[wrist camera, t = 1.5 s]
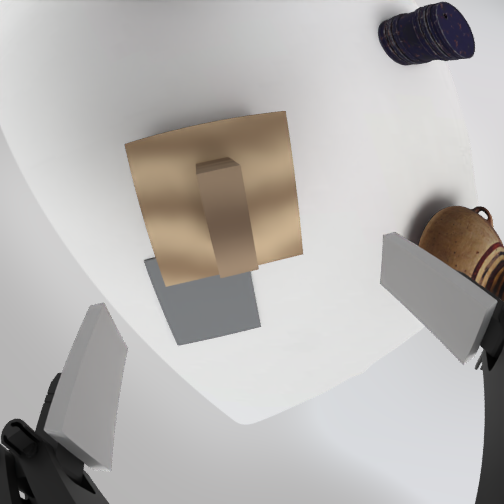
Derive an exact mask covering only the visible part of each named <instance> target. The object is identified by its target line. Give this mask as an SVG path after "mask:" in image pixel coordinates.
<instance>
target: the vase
mask: <svg viewBox="0 0 504 504" xmlns="http://www.w3.org/2000/svg"><path fill="white" fill-rule="evenodd" d="M480 211H484V212H485V213H486V214H487V216H488V219H487V220H486V219H484V218H483V217H482V216H480V215H479V214H478V213H479V212H480ZM419 247H420V248H422V249H424V250H425V251H427V252H428V253H430V254H431V255H433V256H434V257H436V258H438V259H439V260H441V261H442V262H444V263H445V264H447V265H448V266H450V267H451V268H453V269H455V270H457V271H460V272H463V273H465V274H466V275H468V276H469V277H470V278H472V280H475V281H476V282H477V283H479V285H482V286H483V287H484V288H486V289H487V290H488V291H490V292H491V293H493V294H494V295H495V296H496V297H498V298H499V299H501V300H502V301H503V302H504V246H503V244H502V241H501V240H500V238H499V236H498V234H497V233H496V231H495V230H494V228H493V220H492V216H491V215H490V213H489V211H488V210H487V209H486V208H484V207H475V208H474V209H468V208H466V207H462V206H451V207H447V208H444V209H442V210H441V211H439V212H438V213H436V214H435V215H434V216H433V217H432V218H431V220H430V221H429V222H428V224H427V225H426V227H425V229H424V231H423V233H422V236H421V239H420V242H419Z"/></svg>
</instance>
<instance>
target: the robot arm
mask: <svg viewBox="0 0 504 504" xmlns="http://www.w3.org/2000/svg"><path fill="white" fill-rule="evenodd" d="M380 284H381V285H382V286H383V287H384V288H385V289H387V290H388V291H389V292H390V293H391V294H392V295H393V296H394V297H395V298H396V299H397V300H398V301H400V302H401V303H402V304H403V305H404V306H405V307H406V308H407V309H408V310H409V311H410V312H411V313H412V314H413V315H414V316H415V317H416V318H417V319H418V320H419V321H420V322H422V323H423V324H424V325H425V326H426V327H427V328H428V329H429V330H430V331H431V332H432V333H433V334H434V335H435V336H436V337H437V338H438V339H439V340H440V341H441V342H442V343H443V344H444V345H445V346H446V347H447V349H449V351H450V352H451V353H452V354H453V355H454V356H455V357H456V358H457V359H458V360H459V361H460V362H461V363H462V364H463V365H464V364H465V363H467V362H468V361H469V360H471V359H472V358H473V357H475V355H476V352H477V350H478V348H479V346H481V347H482V348H483V349H484V350H483V352H482V354H481V356H480V358H479V360H478V362H477V364H476V366H475V369H476V370H477V369H478V367H479V365H480V363H481V362H482V366H481V368H480V369H481V370H483V377H484V393H485V394H484V396H485V429H484V447H483V458H482V467H481V474H480V481H479V487H478V492H477V497H476V502H475V504H504V302H503V301H502V300H500V299H499V298H498V297H496V296H495V295H494V294H493V293H491V292H490V291H488V290H487V289H486V288H484V287H483V286H482V285H479V283H477V282H476V281H475V280H472V278H470V277H469V276H468V275H466V274H465V273H463V272H460V271H457V270H455V269H453V268H451V267H450V266H448V265H447V264H445V263H444V262H442V261H441V260H439V259H438V258H436V257H434V256H433V255H431V254H430V253H428V252H427V251H425V250H424V249H422V248H420V247H419V246H417V245H416V244H414V243H412V242H411V241H409V240H407V239H406V238H404V237H402V236H401V235H399V234H397V233H396V232H393V233H390V234H386V235H383V249H382V266H381V279H380ZM127 351H128V348H127V345H126V344H125V342H124V340H123V338H122V337H121V335H120V333H119V331H118V329H117V327H116V325H115V323H114V321H113V319H112V317H111V315H110V313H109V312H108V309H107V307H106V305H105V303H100V304H95V305H91V306H90V307H89V309H88V311H87V314H86V316H85V318H84V320H83V323H82V325H81V327H80V329H79V331H78V334H77V336H76V338H75V341H74V343H73V346H72V348H71V350H70V353H69V355H68V358H67V361H66V363H65V366H64V369H63V371H62V373H58V374H57V375H56V377H55V378H54V379H53V381H52V382H51V384H50V387H49V390H48V395H46V398H45V403H44V404H43V407H42V410H41V414H40V417H39V420H38V424H37V427H36V431H35V432H34V430H32V429H31V428H30V427H29V426H28V425H27V424H26V423H25V422H24V421H22V420H21V419H13V420H11V421H9V422H8V423H7V424H6V426H5V427H4V429H3V431H2V435H1V443H2V444H3V445H5V446H6V447H7V448H8V449H9V450H7V449H6V448H5V447H3V446H2V445H1V444H0V504H109V503H108V501H107V500H106V499H105V497H104V496H103V495H102V493H101V492H100V491H99V490H98V488H97V487H96V485H95V484H94V483H93V481H92V479H91V478H90V476H89V475H88V474H87V473H86V472H85V471H84V470H83V469H84V463H85V464H86V465H87V466H89V467H90V468H92V469H93V470H100V471H111V467H112V454H113V443H114V433H115V424H116V415H117V409H118V402H119V395H120V389H121V383H122V377H123V372H124V366H125V361H126V355H127ZM19 491H21V492H23V493H24V494H25V499H23V498H21V497H20V494H19Z"/></svg>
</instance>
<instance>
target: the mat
mask: <svg viewBox="0 0 504 504" xmlns="http://www.w3.org/2000/svg"><path fill="white" fill-rule="evenodd" d="M144 263H145V266H146V268H147V271H148V274H149V277H150V279H151V282H152V285H153V287H154V290H155V292H156V295H157V297H158V300H159V302H160V305H161V307H162V310H163V312H164V315H165V317H166V320H167V322H168V324H169V327H170V329H171V331H172V333H173V336H174V338H175V340H176V342H177V345H183V344H188V343H193V342H198V341H203V340H207V339H212V338H216V337H221V336H225V335H229V334H233V333H238V332H242V331H246V330H250V329H254V328H258V327H261V325H260V319H259V314H258V309H257V304H256V299H255V293H254V288H253V283H252V278H251V272H250V271H249V272H245V273H241V274H237V275H233V276H228V277H224V278H220V275H215V276H210V277H206V278H202V279H198V280H193V281H189V282H185V283H180V284H176V285H172V286H167V287H166V286H165V283H164V280H163V277H162V275H161V272H160V269H159V266H158V263H157V260H156V257H155V258H151V259H147V260H145V261H144Z"/></svg>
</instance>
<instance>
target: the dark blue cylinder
mask: <svg viewBox="0 0 504 504" xmlns="http://www.w3.org/2000/svg"><path fill="white" fill-rule="evenodd" d="M378 36H379V40H380V43H381V45H382V47H383V49H384V51H385V52H386V53H387V55H388V56H389V57H390V58H391V59H392V60H394V61H395V62H397V63H399V64H401V65H411V64H422V63H427V62H430V61H432V60H444V61H448V60H458V59H467V58H471V57H472V56H473V55H474V52H475V42H474V38H473V34H472V32H471V29H470V27H469V25H468V23H467V21H466V20H465V18H464V17H463V15H462V14H461V13H460V12H459V11H458V10H457V9H456V8H455V7H454V6H453V5H451V4H449V3H447V2H440V3H436V4H430V5H426V6H424V7H420V8H418V9H416V10H415V11H414V12H411V13H404V14H399V15H397V16H394V17H392V18H390V19H389V20H386V21H384V22H382V23H381V24H380V26H379V29H378Z"/></svg>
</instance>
